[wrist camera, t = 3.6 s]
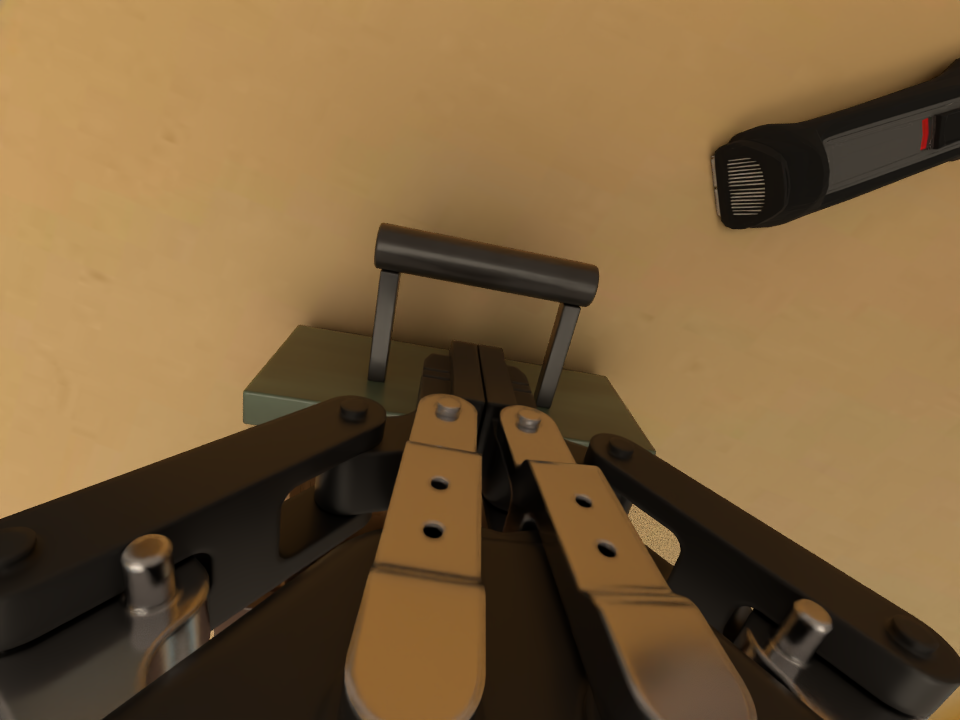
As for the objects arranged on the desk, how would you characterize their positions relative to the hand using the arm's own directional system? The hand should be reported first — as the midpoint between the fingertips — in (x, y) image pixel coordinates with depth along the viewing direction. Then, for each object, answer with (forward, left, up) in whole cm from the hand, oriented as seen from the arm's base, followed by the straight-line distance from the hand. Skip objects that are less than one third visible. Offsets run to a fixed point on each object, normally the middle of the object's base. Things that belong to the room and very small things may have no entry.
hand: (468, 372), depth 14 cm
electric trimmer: (-10, +15, -7) cm, 20 cm away
